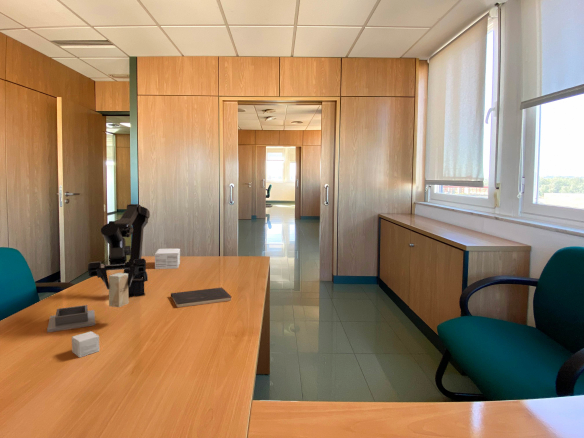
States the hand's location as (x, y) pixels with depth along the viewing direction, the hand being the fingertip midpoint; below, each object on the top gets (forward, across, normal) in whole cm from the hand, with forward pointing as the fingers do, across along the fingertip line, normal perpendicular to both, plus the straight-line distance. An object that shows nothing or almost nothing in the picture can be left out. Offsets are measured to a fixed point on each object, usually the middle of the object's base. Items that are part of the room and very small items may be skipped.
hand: (118, 287), depth 127 cm
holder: (+3, -15, +16) cm, 22 cm away
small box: (+23, -9, -4) cm, 25 cm away
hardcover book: (-2, +32, +23) cm, 40 cm away
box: (+4, 0, +6) cm, 7 cm away
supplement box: (-52, +28, +73) cm, 94 cm away
